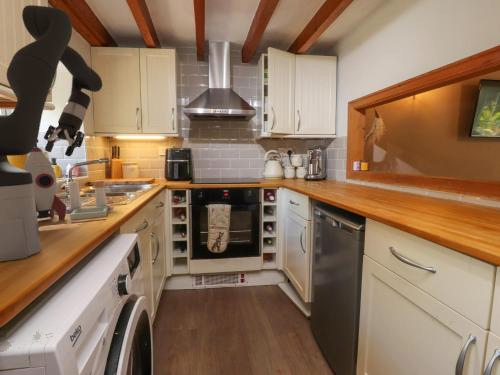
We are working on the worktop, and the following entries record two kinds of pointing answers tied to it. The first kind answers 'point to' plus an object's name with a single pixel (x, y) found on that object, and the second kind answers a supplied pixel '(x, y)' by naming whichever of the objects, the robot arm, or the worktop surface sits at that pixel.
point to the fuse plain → (74, 195)
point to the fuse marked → (100, 193)
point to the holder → (68, 210)
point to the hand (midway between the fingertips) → (57, 153)
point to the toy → (44, 185)
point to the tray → (89, 213)
